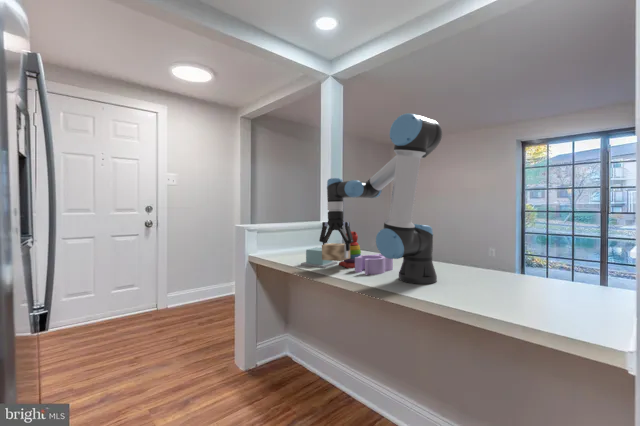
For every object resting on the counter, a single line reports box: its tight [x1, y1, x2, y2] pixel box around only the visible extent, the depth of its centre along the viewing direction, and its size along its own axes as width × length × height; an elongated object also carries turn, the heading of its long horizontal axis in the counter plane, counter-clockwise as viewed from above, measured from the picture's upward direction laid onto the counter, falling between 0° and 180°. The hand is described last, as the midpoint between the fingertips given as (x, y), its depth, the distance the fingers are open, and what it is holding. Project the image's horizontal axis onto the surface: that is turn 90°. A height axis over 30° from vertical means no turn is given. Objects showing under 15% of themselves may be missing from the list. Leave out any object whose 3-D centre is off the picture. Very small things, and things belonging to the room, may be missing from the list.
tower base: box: [300, 246, 338, 269], centre depth 166 cm, size 14×14×8 cm
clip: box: [354, 253, 394, 276], centre depth 150 cm, size 20×12×7 cm, turn 128°
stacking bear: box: [338, 231, 362, 269], centre depth 162 cm, size 11×10×18 cm
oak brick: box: [321, 242, 350, 262], centre depth 151 cm, size 10×10×7 cm
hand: (336, 257), depth 151 cm, fingers closed on oak brick, 10 cm apart
